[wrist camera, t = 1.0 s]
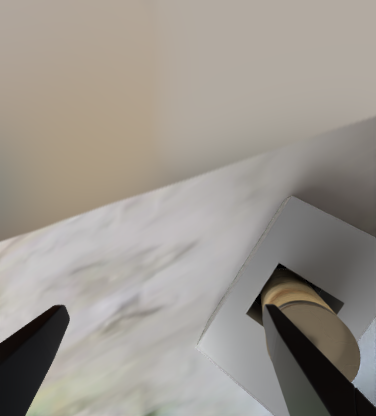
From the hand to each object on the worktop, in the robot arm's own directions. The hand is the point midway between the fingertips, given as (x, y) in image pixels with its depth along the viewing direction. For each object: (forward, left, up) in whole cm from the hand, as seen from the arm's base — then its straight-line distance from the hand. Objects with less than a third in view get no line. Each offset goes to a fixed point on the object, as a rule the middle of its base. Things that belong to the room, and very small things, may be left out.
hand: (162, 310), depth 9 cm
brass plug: (-7, -2, -12) cm, 14 cm away
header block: (-7, -2, -12) cm, 14 cm away
